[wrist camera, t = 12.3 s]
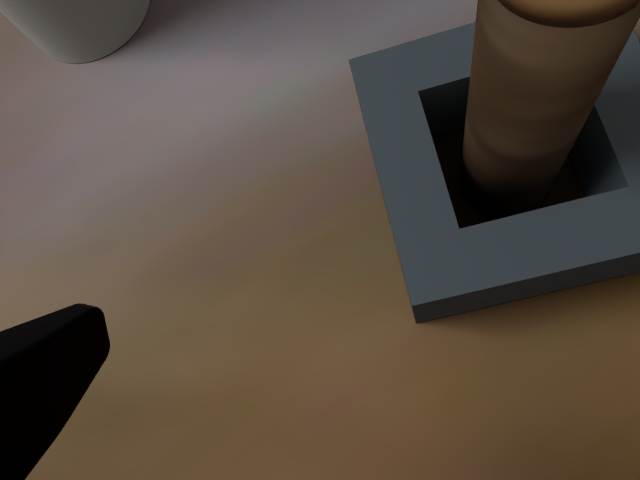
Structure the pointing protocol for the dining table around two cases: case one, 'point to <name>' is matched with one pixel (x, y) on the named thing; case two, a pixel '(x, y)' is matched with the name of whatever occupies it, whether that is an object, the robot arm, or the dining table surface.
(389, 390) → the dining table surface
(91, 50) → the cylindrical container
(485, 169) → the tall walnut pin
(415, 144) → the hole block
